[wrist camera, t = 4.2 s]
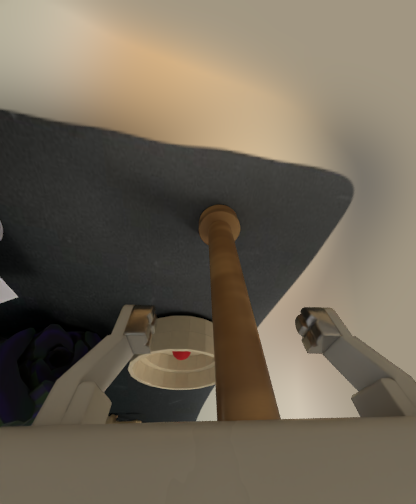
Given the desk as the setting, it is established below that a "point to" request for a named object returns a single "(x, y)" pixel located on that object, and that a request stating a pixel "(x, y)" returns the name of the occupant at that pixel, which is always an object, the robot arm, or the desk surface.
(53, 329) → the decorative plant
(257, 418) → the wooden pestle
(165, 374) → the bowl
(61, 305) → the desk surface
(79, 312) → the desk surface
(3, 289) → the wedge on round base
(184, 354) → the berry
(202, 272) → the desk surface
